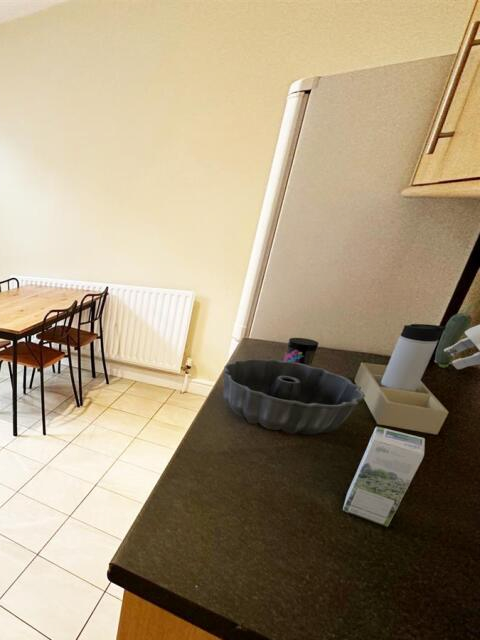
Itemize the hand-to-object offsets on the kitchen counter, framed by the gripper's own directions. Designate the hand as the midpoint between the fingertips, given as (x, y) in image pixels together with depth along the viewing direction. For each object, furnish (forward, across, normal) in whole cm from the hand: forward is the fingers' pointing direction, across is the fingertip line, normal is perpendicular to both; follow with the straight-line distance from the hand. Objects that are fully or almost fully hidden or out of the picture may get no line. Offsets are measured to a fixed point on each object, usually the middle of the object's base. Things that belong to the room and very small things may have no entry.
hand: (449, 359), depth 94 cm
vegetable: (+5, -40, +15) cm, 43 cm away
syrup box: (+18, +54, 0) cm, 57 cm away
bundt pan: (+29, +24, -10) cm, 39 cm away
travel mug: (+13, +1, +4) cm, 14 cm away
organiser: (+14, 0, +5) cm, 15 cm away
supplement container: (+28, -9, -9) cm, 31 cm away
